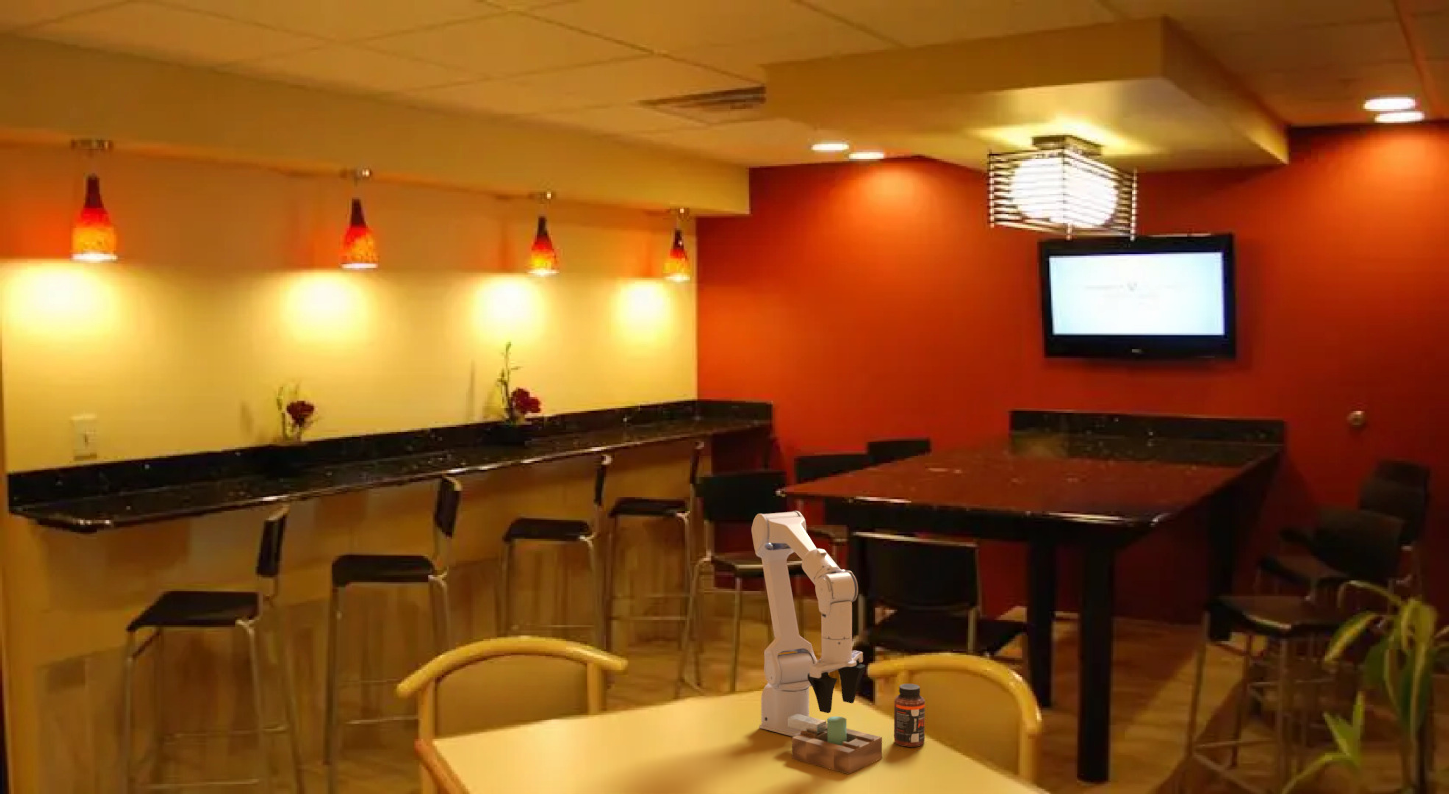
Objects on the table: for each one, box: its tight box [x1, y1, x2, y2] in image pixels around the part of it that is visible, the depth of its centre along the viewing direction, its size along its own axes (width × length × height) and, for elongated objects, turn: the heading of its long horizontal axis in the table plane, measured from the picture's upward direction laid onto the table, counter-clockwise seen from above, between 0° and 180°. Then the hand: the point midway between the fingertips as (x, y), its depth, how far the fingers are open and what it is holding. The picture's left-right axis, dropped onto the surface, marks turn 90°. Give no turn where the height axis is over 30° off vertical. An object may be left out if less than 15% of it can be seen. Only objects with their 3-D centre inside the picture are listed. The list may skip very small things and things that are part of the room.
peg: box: [826, 716, 847, 745], centre depth 237 cm, size 4×4×7 cm
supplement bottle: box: [893, 683, 926, 748], centre depth 245 cm, size 6×6×11 cm
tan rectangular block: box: [788, 714, 827, 734], centre depth 241 cm, size 7×3×2 cm, turn 49°
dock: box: [791, 722, 883, 775], centre depth 237 cm, size 13×11×4 cm
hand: (836, 707), depth 236 cm, fingers open, 7 cm apart
